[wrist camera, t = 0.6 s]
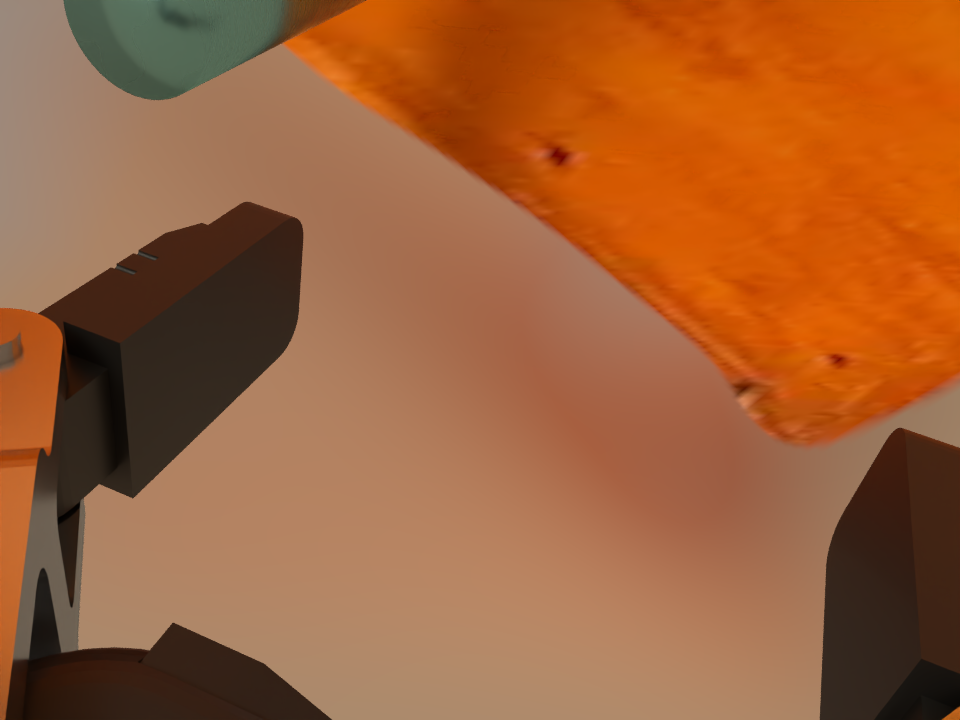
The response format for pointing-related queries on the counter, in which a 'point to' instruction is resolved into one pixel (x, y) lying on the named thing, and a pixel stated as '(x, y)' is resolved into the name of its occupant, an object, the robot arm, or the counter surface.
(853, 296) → the counter surface
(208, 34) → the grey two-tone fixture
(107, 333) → the robot arm
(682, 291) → the counter surface
